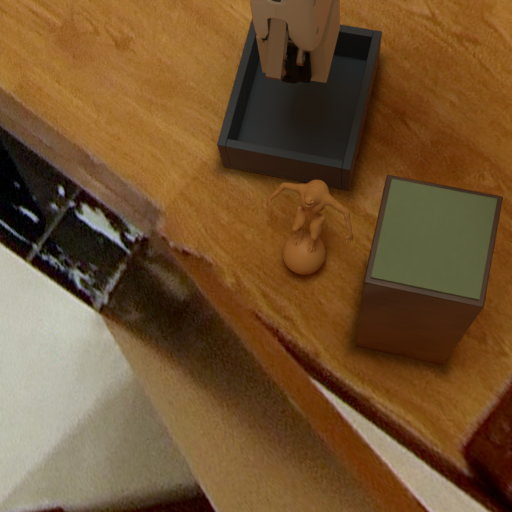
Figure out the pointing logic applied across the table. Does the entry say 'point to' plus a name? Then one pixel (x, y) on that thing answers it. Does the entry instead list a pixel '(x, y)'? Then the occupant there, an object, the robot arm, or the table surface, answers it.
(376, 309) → the stand
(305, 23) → the robot arm
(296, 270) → the figurine
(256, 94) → the tray
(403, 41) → the table surface
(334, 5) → the beige block
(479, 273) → the mat
